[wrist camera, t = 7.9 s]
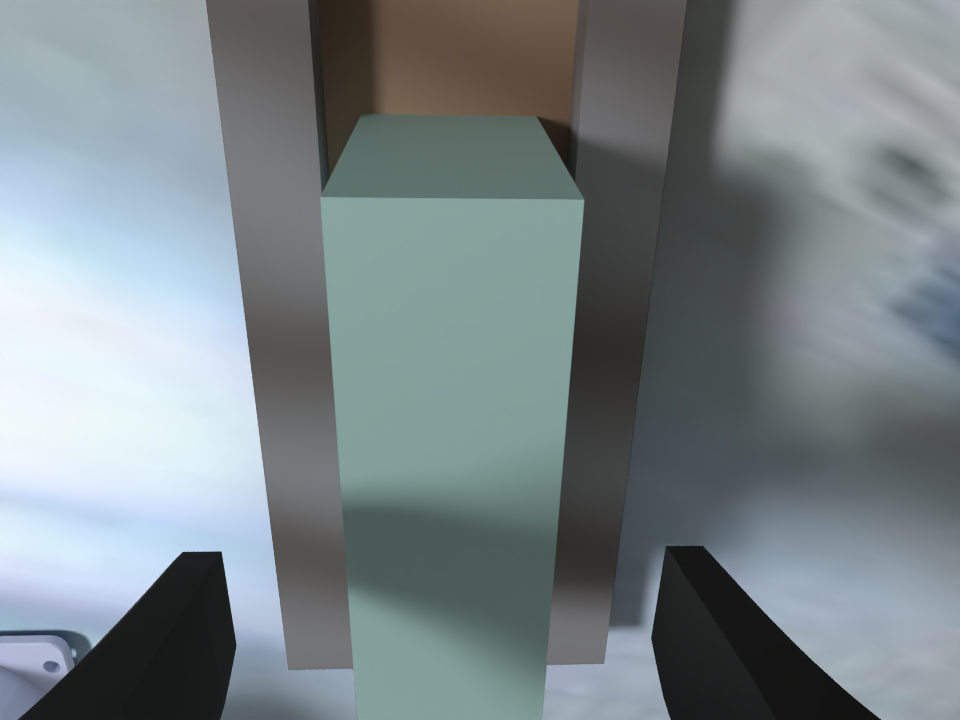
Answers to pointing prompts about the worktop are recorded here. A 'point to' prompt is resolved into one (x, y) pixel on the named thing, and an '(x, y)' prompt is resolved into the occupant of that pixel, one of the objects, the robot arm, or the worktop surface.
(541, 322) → the green block
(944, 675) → the worktop surface
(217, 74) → the track
